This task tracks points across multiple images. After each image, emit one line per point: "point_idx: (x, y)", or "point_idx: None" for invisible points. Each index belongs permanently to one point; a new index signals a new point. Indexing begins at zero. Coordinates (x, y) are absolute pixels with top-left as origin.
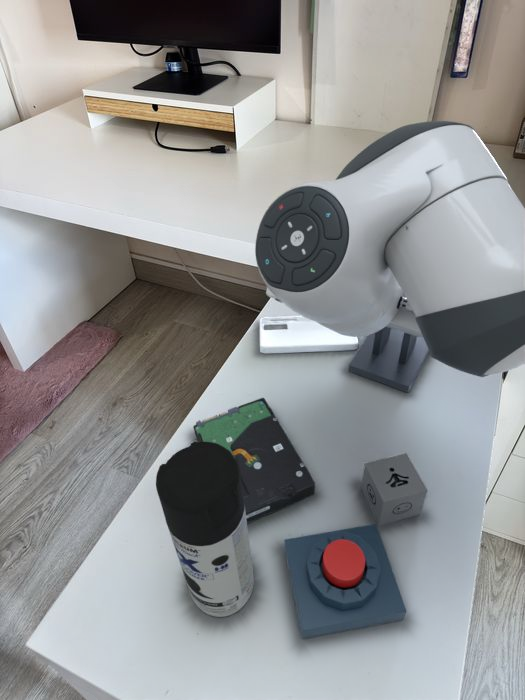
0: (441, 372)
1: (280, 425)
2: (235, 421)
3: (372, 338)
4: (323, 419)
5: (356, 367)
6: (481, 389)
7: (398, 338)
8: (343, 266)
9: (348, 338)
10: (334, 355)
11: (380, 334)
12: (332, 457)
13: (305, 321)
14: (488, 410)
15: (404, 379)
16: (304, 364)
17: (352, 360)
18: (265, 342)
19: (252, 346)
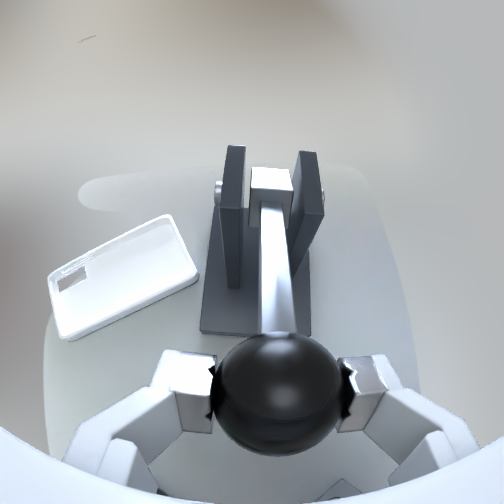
0: (334, 273)
1: None
2: None
3: (217, 253)
4: (204, 445)
5: (213, 331)
6: (387, 281)
7: (257, 237)
8: None
9: (178, 261)
10: (168, 306)
11: (237, 270)
12: (246, 495)
13: (106, 251)
14: (405, 313)
15: (298, 323)
16: (130, 344)
17: (201, 317)
18: (66, 318)
19: (55, 330)
